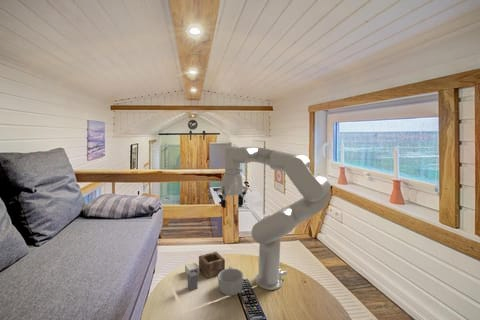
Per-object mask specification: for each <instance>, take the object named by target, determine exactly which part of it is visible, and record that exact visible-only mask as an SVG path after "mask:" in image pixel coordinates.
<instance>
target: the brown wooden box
mask: <svg viewBox="0 0 480 320" xmlns="http://www.w3.org/2000/svg"><path fill="white" fill-rule="evenodd" d="M198 266H199V273H201V274H202V275H203V276H204V278H205V279H206V280H207V279H211V278H215V277H218V274H219V273H220V272H221V271H222V270H225V269H226V259H225V258H224V257H223V256H221V254H220V253H218V252H217V251H214V252H209V253H206V254H202V255H199V256H198Z"/></svg>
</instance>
